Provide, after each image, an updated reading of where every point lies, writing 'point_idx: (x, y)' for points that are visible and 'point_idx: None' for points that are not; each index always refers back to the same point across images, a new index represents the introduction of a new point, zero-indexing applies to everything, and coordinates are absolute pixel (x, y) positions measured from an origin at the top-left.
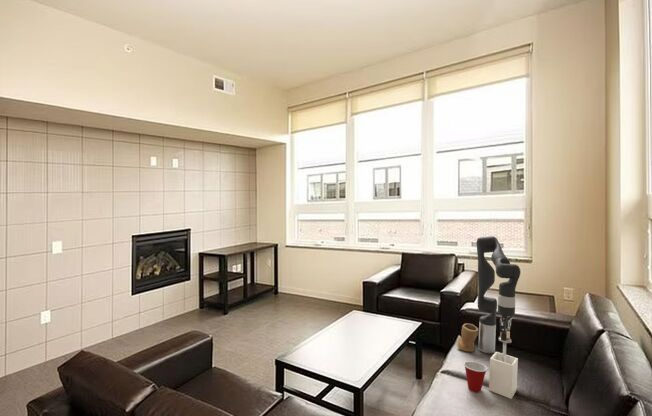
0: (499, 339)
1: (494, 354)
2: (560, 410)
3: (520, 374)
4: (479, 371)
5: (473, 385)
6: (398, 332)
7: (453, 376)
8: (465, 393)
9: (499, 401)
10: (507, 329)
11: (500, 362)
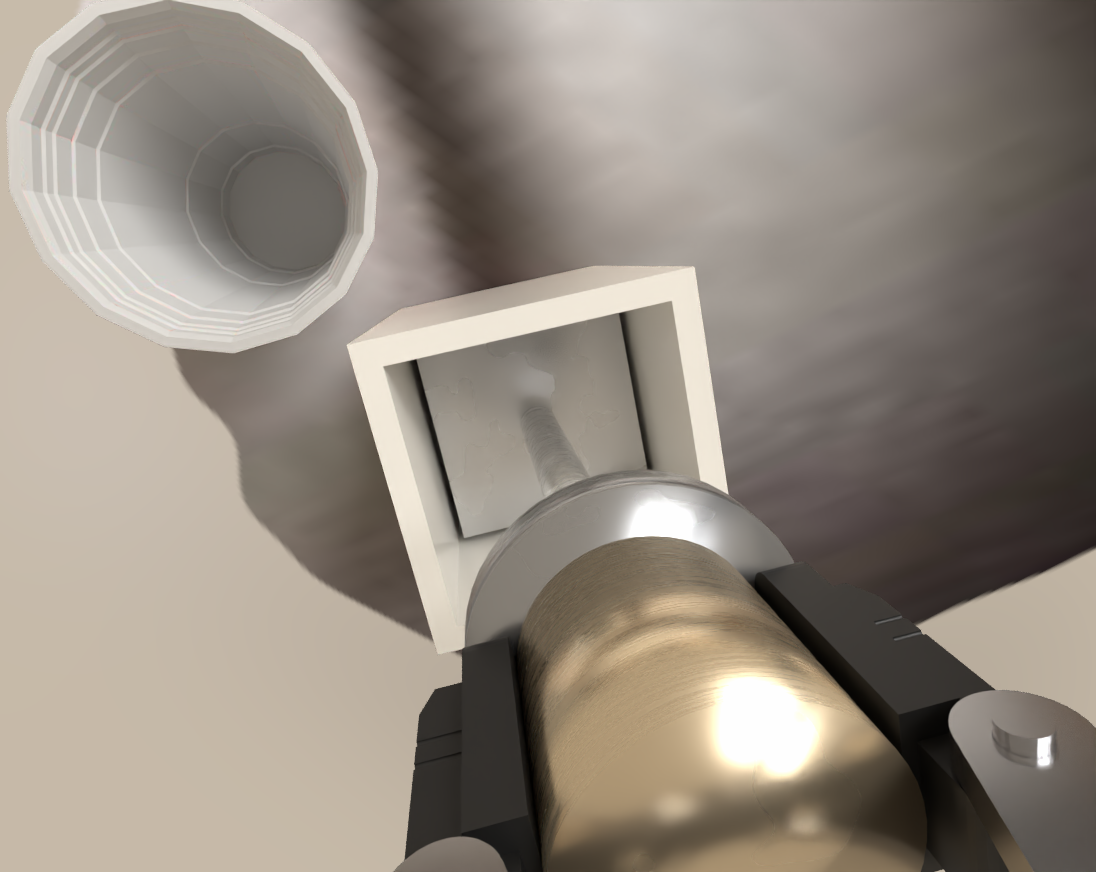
0: (491, 566)
1: (560, 309)
2: None
3: (926, 342)
4: (102, 312)
5: (192, 235)
6: None
7: None
8: None
9: (318, 454)
10: (955, 865)
11: (393, 495)
